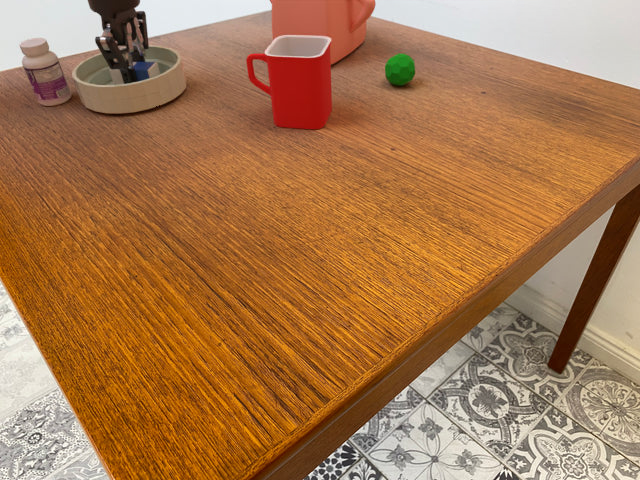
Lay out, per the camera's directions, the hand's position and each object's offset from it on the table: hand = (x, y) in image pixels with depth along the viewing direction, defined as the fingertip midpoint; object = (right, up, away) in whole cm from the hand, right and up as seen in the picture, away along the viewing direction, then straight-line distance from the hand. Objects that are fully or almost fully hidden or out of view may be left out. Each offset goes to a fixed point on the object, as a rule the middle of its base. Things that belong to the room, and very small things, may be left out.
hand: (138, 84), depth 88 cm
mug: (+27, -8, -9) cm, 29 cm away
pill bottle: (-13, -3, -1) cm, 14 cm away
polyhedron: (+44, -1, -2) cm, 44 cm away
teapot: (+32, +11, +12) cm, 36 cm away
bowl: (0, -2, 0) cm, 2 cm away
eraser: (0, 0, 0) cm, 0 cm away
